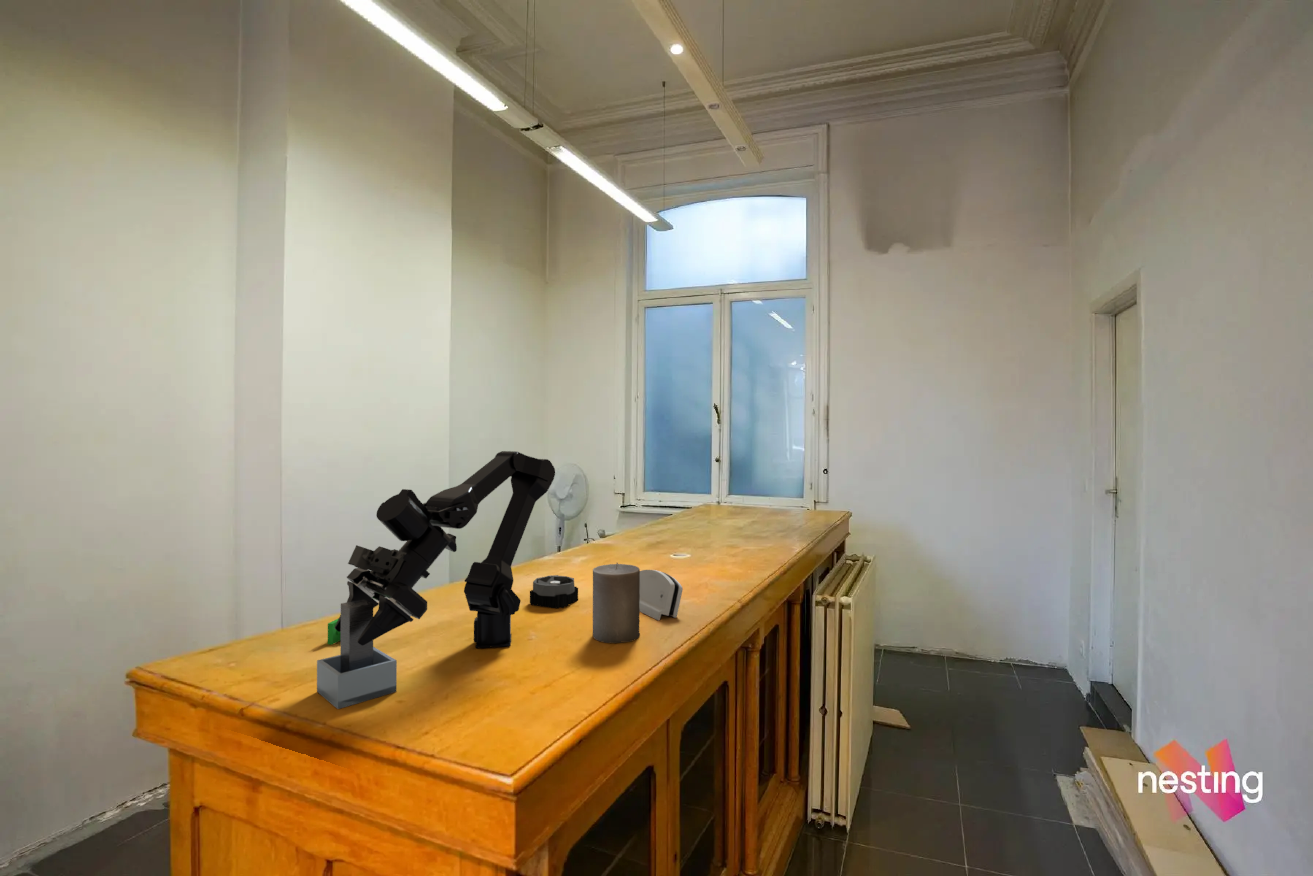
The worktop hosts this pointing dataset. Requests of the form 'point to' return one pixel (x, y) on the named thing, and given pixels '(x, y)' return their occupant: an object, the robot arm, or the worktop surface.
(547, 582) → the cpu cooler
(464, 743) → the worktop surface
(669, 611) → the napkin holder
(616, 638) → the pillar candle
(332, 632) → the pipe clamp
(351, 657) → the dark square pedestal
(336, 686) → the box
